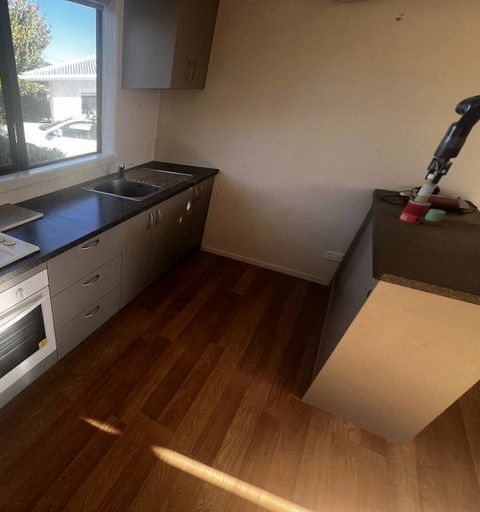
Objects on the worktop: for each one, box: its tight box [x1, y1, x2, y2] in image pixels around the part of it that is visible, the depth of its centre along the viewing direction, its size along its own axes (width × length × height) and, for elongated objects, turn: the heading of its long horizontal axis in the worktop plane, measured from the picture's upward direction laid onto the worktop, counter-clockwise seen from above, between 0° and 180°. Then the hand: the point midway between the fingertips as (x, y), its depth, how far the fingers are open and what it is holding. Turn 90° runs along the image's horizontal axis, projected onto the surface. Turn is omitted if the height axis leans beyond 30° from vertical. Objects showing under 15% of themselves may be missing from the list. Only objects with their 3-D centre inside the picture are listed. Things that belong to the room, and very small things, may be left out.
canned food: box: [398, 199, 432, 225], centre depth 149 cm, size 8×8×11 cm
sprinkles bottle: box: [414, 173, 443, 203], centre depth 143 cm, size 5×5×14 cm
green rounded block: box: [424, 208, 447, 223], centre depth 153 cm, size 6×6×5 cm
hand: (430, 181), depth 141 cm, fingers open, 7 cm apart
